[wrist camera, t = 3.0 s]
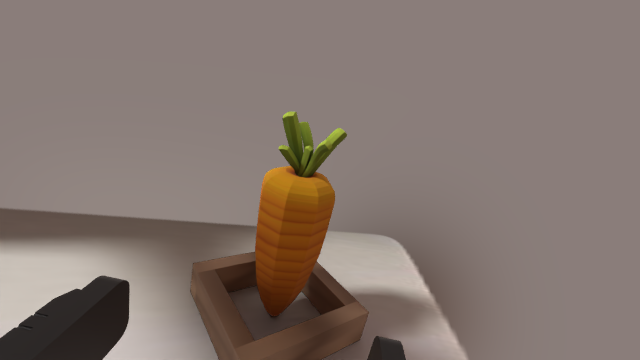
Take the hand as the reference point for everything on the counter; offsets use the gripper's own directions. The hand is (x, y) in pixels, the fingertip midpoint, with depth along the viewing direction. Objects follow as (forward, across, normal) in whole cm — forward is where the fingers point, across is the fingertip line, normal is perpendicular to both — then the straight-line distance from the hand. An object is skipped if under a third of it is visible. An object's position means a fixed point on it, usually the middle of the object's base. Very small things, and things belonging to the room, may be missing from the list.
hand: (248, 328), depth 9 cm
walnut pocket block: (+10, 0, +9) cm, 14 cm away
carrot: (+10, 0, +9) cm, 14 cm away
